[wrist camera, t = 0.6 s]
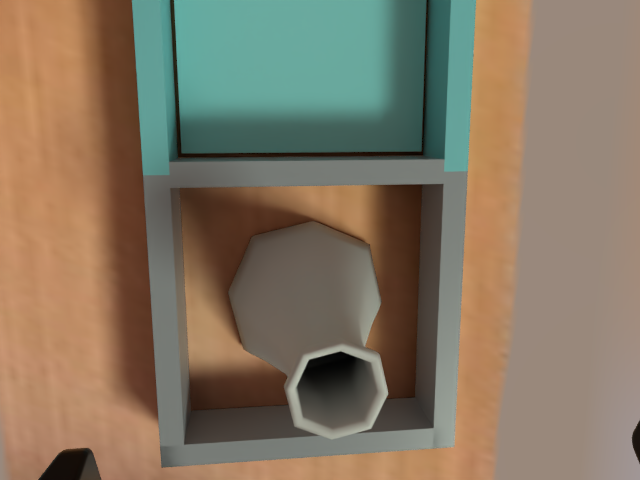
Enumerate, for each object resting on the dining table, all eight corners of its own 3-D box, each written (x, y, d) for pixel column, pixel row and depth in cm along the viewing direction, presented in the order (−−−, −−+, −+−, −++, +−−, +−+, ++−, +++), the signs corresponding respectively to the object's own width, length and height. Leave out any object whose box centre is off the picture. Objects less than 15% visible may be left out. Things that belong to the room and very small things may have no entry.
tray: (433, 414, 29) (454, 446, 26) (170, 431, 28) (161, 467, 25) (455, -134, 24) (484, -170, 21) (136, -150, 23) (119, -191, 20)
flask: (371, 370, 28) (436, 499, 19) (223, 364, 27) (208, 497, 18) (389, 225, 27) (468, 284, 17) (233, 213, 26) (223, 268, 16)
